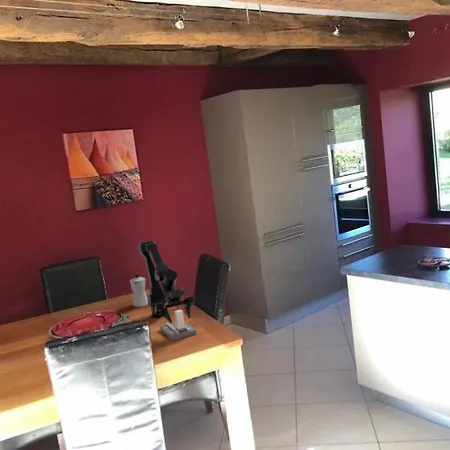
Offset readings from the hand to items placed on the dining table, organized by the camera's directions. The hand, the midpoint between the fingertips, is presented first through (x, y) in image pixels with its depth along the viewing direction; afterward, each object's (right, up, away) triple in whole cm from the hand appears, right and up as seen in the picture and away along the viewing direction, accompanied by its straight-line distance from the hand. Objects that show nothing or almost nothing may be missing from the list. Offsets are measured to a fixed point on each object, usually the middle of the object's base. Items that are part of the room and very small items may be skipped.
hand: (180, 320), depth 228 cm
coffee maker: (-27, -1, +55) cm, 61 cm away
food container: (-25, -9, +4) cm, 27 cm away
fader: (0, -5, +2) cm, 5 cm away
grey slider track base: (-2, -6, +6) cm, 9 cm away
